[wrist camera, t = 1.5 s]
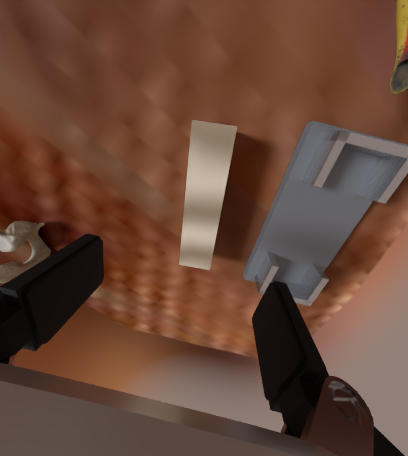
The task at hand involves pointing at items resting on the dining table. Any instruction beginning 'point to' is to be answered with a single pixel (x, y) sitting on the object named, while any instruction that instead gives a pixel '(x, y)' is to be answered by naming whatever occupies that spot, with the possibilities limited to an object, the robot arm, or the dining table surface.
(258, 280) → the grey long frame
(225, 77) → the dining table surface
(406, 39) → the magic lamp
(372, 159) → the slat tray
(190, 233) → the birch slat
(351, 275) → the dining table surface
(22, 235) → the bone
